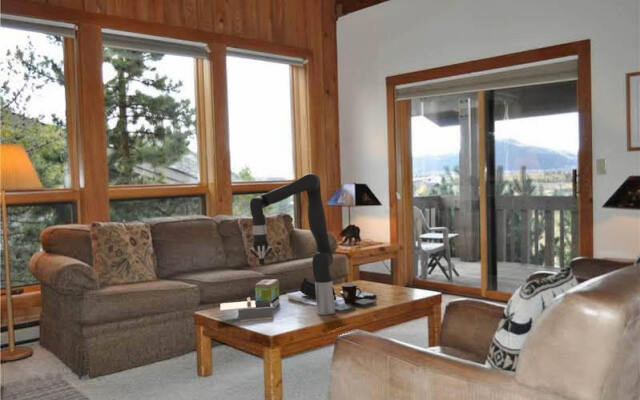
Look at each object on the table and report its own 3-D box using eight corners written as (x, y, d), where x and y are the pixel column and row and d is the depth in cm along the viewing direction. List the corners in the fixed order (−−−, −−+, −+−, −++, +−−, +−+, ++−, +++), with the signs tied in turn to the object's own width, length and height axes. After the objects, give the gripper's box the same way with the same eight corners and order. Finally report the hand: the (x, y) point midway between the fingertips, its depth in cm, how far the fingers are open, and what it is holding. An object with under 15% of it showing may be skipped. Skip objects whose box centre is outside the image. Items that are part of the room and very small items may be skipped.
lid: (254, 302, 306) (254, 296, 306) (255, 308, 292) (255, 302, 292) (220, 305, 303) (220, 299, 303) (220, 311, 289) (219, 305, 289)
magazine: (338, 287, 319) (307, 267, 341) (334, 288, 317) (302, 268, 339) (334, 314, 324) (303, 292, 346) (330, 315, 322) (299, 293, 344)
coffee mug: (340, 301, 323) (339, 284, 322) (353, 299, 326) (352, 282, 326) (349, 305, 312) (348, 288, 311) (362, 303, 315) (361, 286, 315)
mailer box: (271, 311, 308) (270, 301, 307) (273, 318, 294) (272, 307, 294) (238, 314, 305) (237, 304, 305) (239, 321, 291) (238, 310, 291)
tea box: (272, 310, 311) (271, 284, 310) (255, 310, 313) (254, 284, 312) (280, 303, 326) (278, 278, 325) (263, 303, 328) (262, 278, 327)
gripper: (248, 235, 299) (250, 267, 300) (272, 233, 302) (274, 264, 302) (247, 233, 306) (249, 264, 307) (271, 231, 309) (273, 262, 310)
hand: (262, 264), depth 305 cm, fingers closed
